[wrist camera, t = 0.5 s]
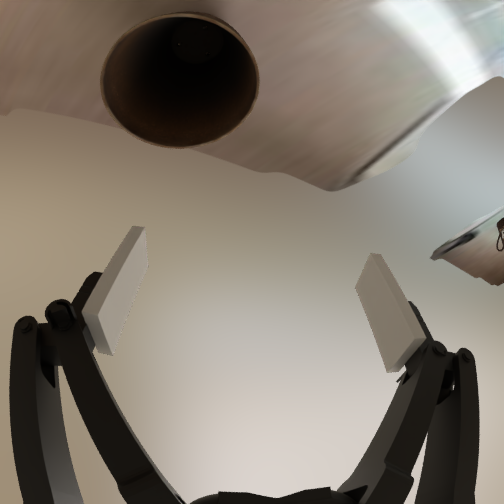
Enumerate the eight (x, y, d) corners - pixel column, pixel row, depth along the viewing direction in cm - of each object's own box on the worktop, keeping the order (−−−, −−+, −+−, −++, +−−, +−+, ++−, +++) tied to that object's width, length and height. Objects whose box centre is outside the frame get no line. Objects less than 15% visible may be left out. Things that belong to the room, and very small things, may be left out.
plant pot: (128, 63, 30) (84, 123, 23) (175, -22, 20) (136, -9, 12) (215, 98, 38) (208, 166, 30) (273, 25, 28) (294, 65, 20)
